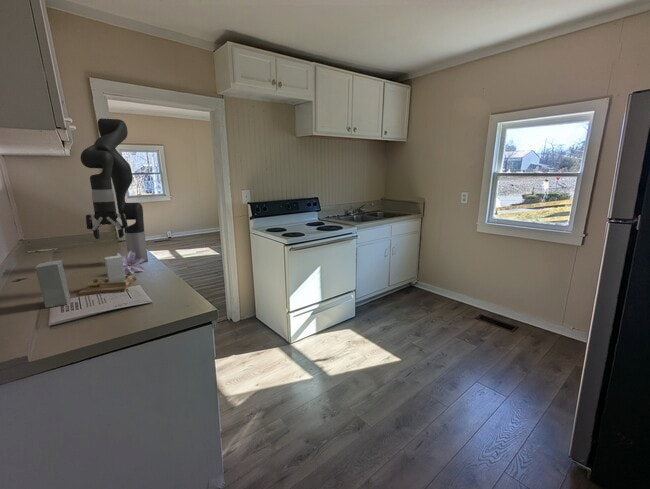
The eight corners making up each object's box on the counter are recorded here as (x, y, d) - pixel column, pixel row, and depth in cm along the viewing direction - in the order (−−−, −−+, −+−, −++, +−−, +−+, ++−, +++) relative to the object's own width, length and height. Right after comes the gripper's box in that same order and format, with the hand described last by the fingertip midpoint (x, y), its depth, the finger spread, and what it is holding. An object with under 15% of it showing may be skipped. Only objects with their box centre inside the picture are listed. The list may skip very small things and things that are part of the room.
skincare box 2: (124, 280, 136) (120, 254, 133) (126, 283, 133) (122, 256, 130) (107, 283, 132) (103, 257, 129) (109, 286, 129) (105, 259, 126)
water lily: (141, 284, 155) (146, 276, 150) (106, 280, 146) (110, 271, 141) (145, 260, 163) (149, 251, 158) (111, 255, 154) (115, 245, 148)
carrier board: (96, 282, 137) (95, 275, 136) (136, 279, 141) (135, 273, 141) (79, 295, 122) (77, 287, 121) (124, 291, 126) (123, 284, 126)
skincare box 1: (67, 304, 113) (60, 264, 109) (42, 309, 109) (33, 266, 106) (71, 297, 120) (64, 258, 116) (47, 301, 116) (39, 261, 113)
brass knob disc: (91, 283, 132) (90, 278, 131) (105, 282, 133) (104, 277, 133) (86, 287, 127) (85, 281, 127) (100, 286, 128) (99, 281, 128)
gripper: (126, 199, 132) (131, 235, 136) (87, 199, 128) (93, 237, 132) (120, 200, 125) (125, 239, 129) (79, 201, 121) (86, 240, 125)
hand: (109, 238), depth 130 cm, fingers open, 8 cm apart
